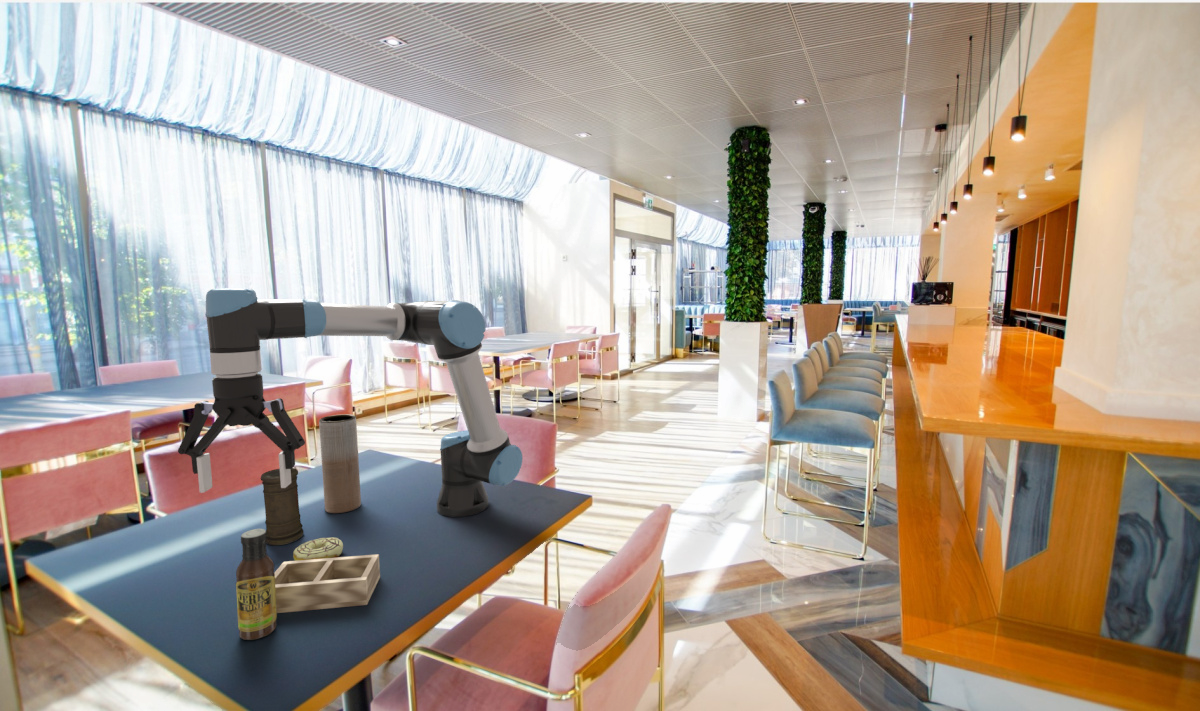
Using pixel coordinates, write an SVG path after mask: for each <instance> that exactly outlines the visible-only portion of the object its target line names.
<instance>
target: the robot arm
mask: <svg viewBox="0 0 1200 711" xmlns="http://www.w3.org/2000/svg"><path fill="white" fill-rule="evenodd" d="M205 318H206V324H207V327H206V328H207V334H208V342H209V344H208V345H209V359H210V360H209V361H210V372H211V374H212V375H214V377H213V378H212V379H211V383H212V384H211V385H212V393H213V398H214V402H210V401H208V400H203V401H202V400H201V401H199V402H197V403H195V404H194V409H193V417H192V419H191V421H190V423H189V425H188V428H187V430H186V432H185V434H184V435H183V438H182V441H181V443H180V445H179V447H178V450H177V453H178V454H179V455H186V456H187V455H188V456H189V457H190V458H191V465H192V466H191V468H192V473H193V474H194V475H196V474H197V476H198V479H197V480H198V488H199V489H198V492H199V493H201V494H203V493H206V492H207V491H209V490H210V489H212V488H213V478H212V476H213V475H212V466H211V454H210V452H207V451H206V450H207V449H208V447H210V446H211V444H212V443H213V442H214V441H215V440H216V438H218V436H219V435H220V434H221V432H222V431H223V430H224V429H225V428H226V426H229V427H235V426H243V427H244V426H245V427H247V426H251V425H253V427H254V428H257V429H259V431H261V432H262V433H263V434H264V435H265V436H266V437H267V438H268V439H269V440H271V442H273V443H274V445H275V446H277V447H278V448H279V449H280V453H278V466H279V468H278V469H280V481H281V488H286V487H287V486H288V485H289V484H291V470H290V469H292V468H294V467H295V466H296V456H295V455H296V453H295V451H296V450H299V449H300V448H302V447H303V446H304V445H305V444H306V441H305V439H304V438H303V436H302V434H301V433H300V431H299V430H298V427H297V426H296V425H295V424H294V422H293V420H292V419H291V417H290V415H289V414H288V412H287V411H286V409H285V402H284V400H283V399H282V398H280V397H279V398H276V399H274V400H265V398H264V381H263V375H262V374H261V373H259V372H261V371H262V359H261V345H260V344H261V343H260V342H261V340H262V341H266V340H275V339H276V340H277V339H279V340H280V339H282V340H283V339H296V338H297V339H298V338H304V339H307V338H311V337H318V336H319V337H322V336H323V337H326V336H328V337H331V336H333V337H386V338H387V339H388V340H391V341H405V342H411V343H417V344H421V345H422V344H423V345H427V346H433V347H434V350H435V353H436V356H437V358H438V360H440V361H442V362H444V363H446V367H447V370H448V372H449V376H450V379H451V382H452V386H453V389H454V392H455V394H456V398H457V401H458V404H459V407H460V410H461V414H462V417H463V419H464V424H465V426H466V429H467V430H466V429H465V430H461V431H456V432H450V433H448V434H445V435H444V436H442V438H440V439H441V440H440V449H439V451H440V463H441V464H440V465H441V478H442V479H441V488H440V490H439V495H438V498H437V500H436V511H437V512H438V514H440V515H442V516H445V517H452V518H460V517H461V518H462V517H468V516H469V517H470V516H473V515H477V514H479V513H481V512H483V511H485V510H486V509H487V508H488V507H489V495H488V493H487V490H486V488H485V484H484V483H487V484H490V485H493V486H501V487H503V486H507V485H509V484H511V483H512V482H513V481H514V480H515V479H516V478H517V476H518V475H519V473H520V470H521V468H522V465H523V452H522V450H521V448H520V447H518V446H517V445H515V444H511V441H510V437H509V433H508V432H507V431H506V430H504V429H502V428H501V426H500V423H499V420H498V416H497V413H496V409H495V406H494V402H493V399H492V396H491V393H490V389H489V386H488V383H487V379H486V376H485V372H484V368H483V365H482V360H481V358H480V355H479V352H480V350H481V349H482V346H483V344H482V341H483V340H484V338H485V333H486V322H485V319H484V316H483V313H482V312H481V311H480V310H479V308H478V307H477V306H475V305H474V304H472V303H470V302H467V301H461V300H457V299H456V300H455V299H454V300H425V301H423V300H421V301H416V302H415V301H414V302H400V303H399V302H391V303H388V304H387V305H386V306H385V305H368V304H364V305H363V304H351V303H349V304H347V303H331V302H330V303H329V302H320V301H318V300H317V299H308V298H307V299H305V298H299V299H298V298H296V299H295V298H293V299H289V298H288V299H285V298H282V299H277V298H276V299H275V298H272V299H271V298H269V299H266V298H265V299H261V298H260V299H259V298H258V297H257V293H256V291H255V290H254V289H252V288H212V289H210V290H208V291H207V292H206V295H205ZM266 408H267V409H268V411H269V412H270V413H271V414H272V416H273V417H274V419H275V421H276V422H277V424H278V425H279V427H280V429H279V428H278V427H277V426H276V425H275V424H274V423H273V422H272V421H271V420H270V418H269V417H268V415H266V414H265V413H264V411H265V410H266ZM212 412H214V413H215V414H216V415H217V416H218V417H217V418H216V419H215V420H214V421H213V423H212V424H211V426H210V428H209V429H208V430H207V431H206V433H204V435H203V436H202V437H201V438H200V439H199V437H200V435H201V432H202V431H203V428H204V426H205V424H206V422H207V421H208V418H209V414H212ZM281 430H282V431H281ZM198 439H199V441H198ZM197 441H198V442H197Z"/></svg>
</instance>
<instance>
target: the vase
mask: <svg viewBox="0 0 1200 711" xmlns="http://www.w3.org/2000/svg"><path fill="white" fill-rule="evenodd" d="M318 426H319V428H318V429H319V440H320V454H321V457H320V458H321V468H322V469H321V471H322V485H323V498H324V500H323V501H324V503H323V504H324V510H325V512H327V513H328V514H344V513H349V512H353V511H355V510H356V509H359V507H361V505H362V496H361V479H360V478H361V477H360V465H359V464H360V462H359V459H360V458H359V446H358V428H357V416H356V415H355V414H347V413H346V414H344V413H343V414H341V413H340V414H333V415H327V416H323V417H321V418H319V419H318Z"/></svg>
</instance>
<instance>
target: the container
mask: <svg viewBox="0 0 1200 711" xmlns="http://www.w3.org/2000/svg"><path fill="white" fill-rule="evenodd" d="M290 470H291V484H289V485H288V486H287V487H286V488H281V481H280V468H275V469H271V470H268V471H266V472H263V473H262V474H261V476H260V481H261V484H262V485H263V491H262V493H263V498H264V501H263V502H264V509H265V530H266V534H267V538H266V545H269V546H283V545H287V544H292V543H293V542H296V541H298V540H300V539H301V538H302V537H303V536H304V533H305V532H304V529H303V524H302V521H301V513H300V506H299V505H300V503H299V492H298V491H299V490H298V487H299V485H298V481H297V480H298V475H299V471H298V469H297V468H294V467H293V468H292V469H290Z"/></svg>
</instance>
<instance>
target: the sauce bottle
mask: <svg viewBox="0 0 1200 711" xmlns="http://www.w3.org/2000/svg"><path fill="white" fill-rule="evenodd" d="M266 538H267V534H266V529H265V528H254V529H250V530H247V531H244V532H243V533H242V534H241V536H240V543H241V545H242V546H241V547H242V556H241V557H242V560H241V561H240V563H239V565H238V567H237V568H236V571H235V575H236V576H235V577H236V582H235V587H236V589H235V590H236V592H235V593H236V608H237V628H238V636H239V638H240V639H243V640H245V641H246V640H247V641H254V640H259V639H262V638H264V637H266V636H269V635H271V634H272V632H273V631H275V630H276V628H277V616H278V613H276V591H275V574H274V572H275V564H274V561H273V559H272V558H271V557H269V555H268V554H267V552H268V550H267V543H266Z"/></svg>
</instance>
